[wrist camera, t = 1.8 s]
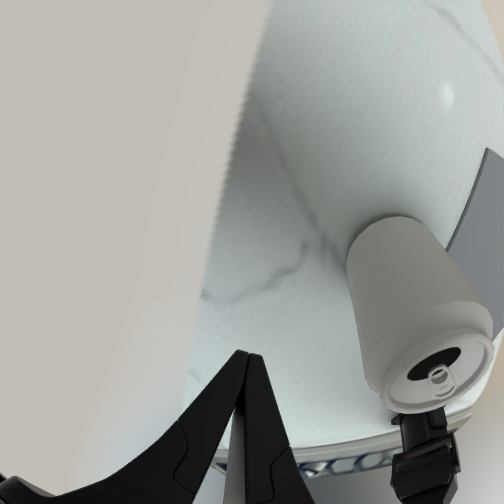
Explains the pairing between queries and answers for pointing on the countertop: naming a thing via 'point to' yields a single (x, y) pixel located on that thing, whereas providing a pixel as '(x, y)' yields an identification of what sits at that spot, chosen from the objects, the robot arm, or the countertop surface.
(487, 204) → the mat
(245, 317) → the countertop surface
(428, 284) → the can
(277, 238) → the countertop surface
